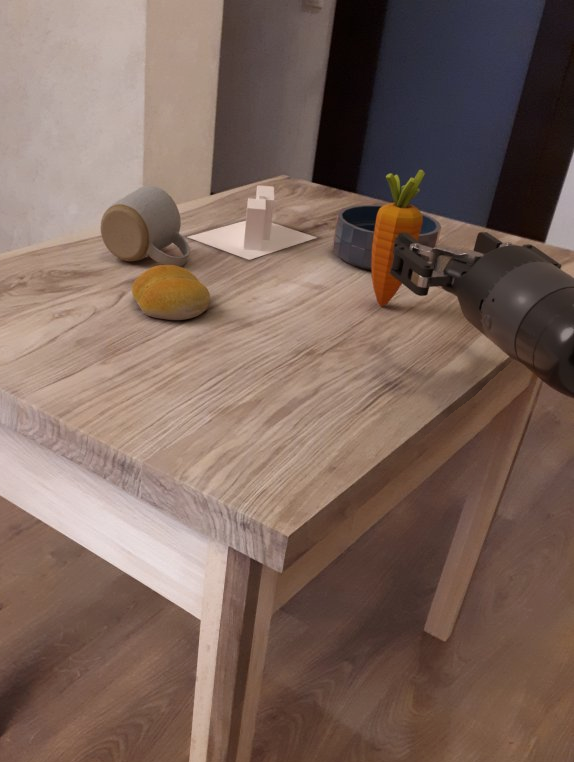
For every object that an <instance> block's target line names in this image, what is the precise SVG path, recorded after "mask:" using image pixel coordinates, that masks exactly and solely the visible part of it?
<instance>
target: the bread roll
mask: <svg viewBox="0 0 574 762" xmlns="http://www.w3.org/2000/svg"><path fill="white" fill-rule="evenodd" d="M131 287H132V289H131V294H132V298H133V299H134V301H135V302H136V303H137V305H138V307H139V308H140V310H141V311H142V312H143V314H145V315H146V316H148V317H152V318H155V319H161V320H169V321H184V320H190V319H194V318H196V317H197V316H198V317H199V315H201V314H203V313H204V312H205V311H206V310H208V308H209V305H210V301H211V300H210V299H211V294H210V292H209V289H208V288H207V287H206V285H204V284H203V283H202V282H200V279H198V278H197V276H196V275H194V274H193V273H192V272H191V271H190V270H188V269H186V268H184V267H182V266H180V267H178V266H175V265H162V264H159V265H155V266H153V267H150V268H148V269H146V270H145V271H144V272H142V273H141V274H140V275H138V276H137V278H136V279H135V280H134V282H133V284H132V286H131Z"/></svg>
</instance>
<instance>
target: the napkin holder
mask: <svg viewBox="0 0 574 762" xmlns="http://www.w3.org/2000/svg"><path fill="white" fill-rule="evenodd" d="M246 204H247V205H246V214H245V220H243V221H239V222H235V223H232V224H228V225H225V226H221V227H218V228H214V229H210V230H206V231H202V232H200V233H196V234H192V235H188V236H187V238H189V239H191V240H194V241H196V242H199V243H201V244H205V245H207V246H210V247H213V248H216V249H218V250H221V251H224V252H226V253H230V254H231V255H235V256H237V257H240V258H243V259H245V260H248V261H251V260H253V259H257V258H260V257H262V256H266V255H268V254H272V253H275V252H278V251H281V250H284V249H287V248H291V247H293V246H296V245H299V244H302V243H306V242H309V241H312V240H314V239H317V238H318V237H317V236H314V235H311V234H308V233H304V232H301V231H298V230H296V229H293V228H291V227H287V226H283V225H280V224H277V223H274V222H273V214H274V205H275V187H274V186H271V185H270V186H269V185H258V184H257V185H256V193H255V198H252V197H248V198H247V203H246Z"/></svg>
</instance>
